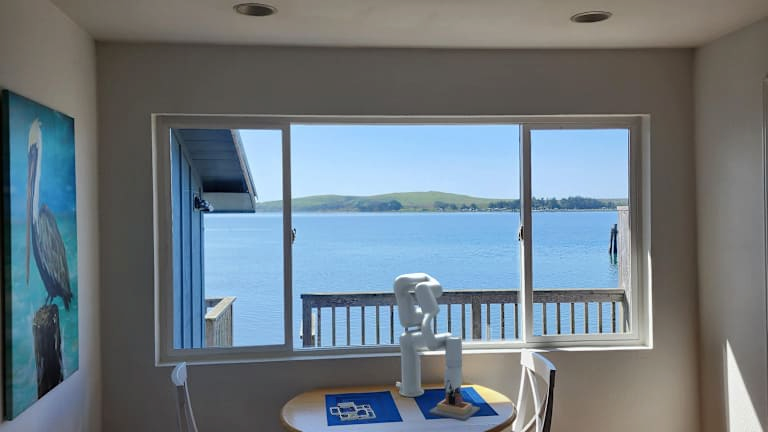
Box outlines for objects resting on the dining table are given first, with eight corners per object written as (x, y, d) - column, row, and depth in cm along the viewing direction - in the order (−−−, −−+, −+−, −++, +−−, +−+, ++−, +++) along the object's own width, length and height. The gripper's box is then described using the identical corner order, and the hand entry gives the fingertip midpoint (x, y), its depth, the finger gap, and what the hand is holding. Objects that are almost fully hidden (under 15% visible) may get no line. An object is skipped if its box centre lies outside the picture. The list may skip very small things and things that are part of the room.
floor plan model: (316, 409, 277) (316, 405, 277) (368, 404, 282) (368, 400, 282) (319, 424, 258) (319, 419, 258) (375, 419, 263) (375, 414, 263)
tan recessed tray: (428, 413, 268) (428, 405, 268) (445, 402, 281) (444, 395, 281) (464, 420, 258) (464, 412, 258) (479, 409, 271) (479, 402, 271)
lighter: (462, 409, 269) (464, 387, 269) (460, 411, 266) (461, 388, 266) (446, 406, 272) (447, 384, 273) (443, 408, 269) (445, 386, 270)
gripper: (454, 357, 278) (455, 395, 278) (437, 366, 264) (438, 406, 264) (469, 359, 274) (469, 398, 274) (452, 369, 260) (453, 409, 260)
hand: (454, 402), depth 269 cm, fingers open, 4 cm apart
